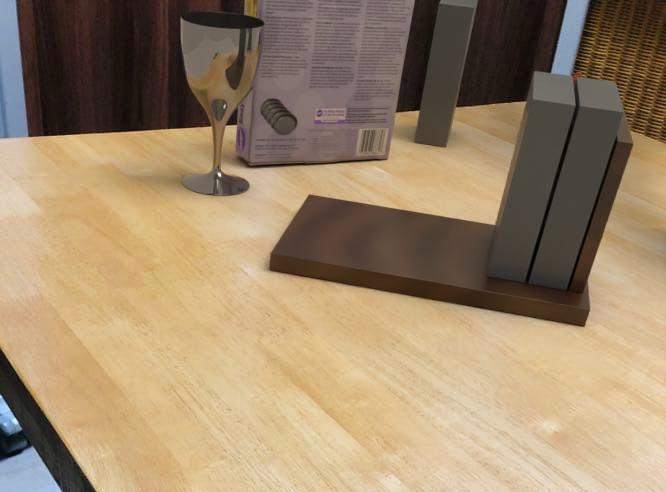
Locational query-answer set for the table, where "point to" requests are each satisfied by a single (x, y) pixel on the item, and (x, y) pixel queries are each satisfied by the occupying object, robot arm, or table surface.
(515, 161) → the matching books
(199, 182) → the wine glass
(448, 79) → the grey book
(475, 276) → the book rack
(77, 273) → the table surface
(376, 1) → the cake pan box
